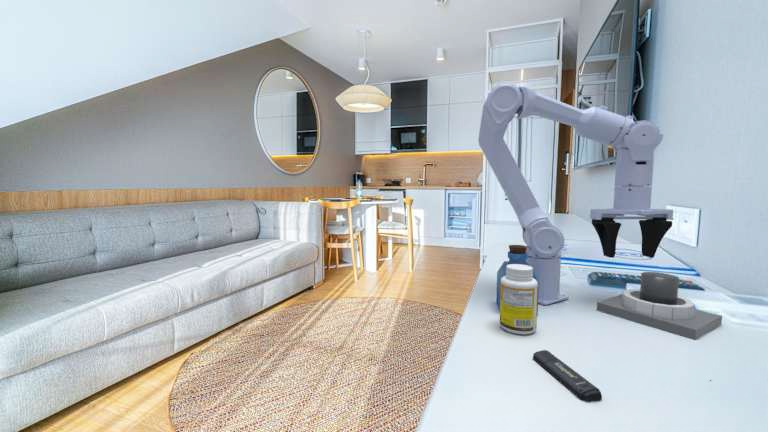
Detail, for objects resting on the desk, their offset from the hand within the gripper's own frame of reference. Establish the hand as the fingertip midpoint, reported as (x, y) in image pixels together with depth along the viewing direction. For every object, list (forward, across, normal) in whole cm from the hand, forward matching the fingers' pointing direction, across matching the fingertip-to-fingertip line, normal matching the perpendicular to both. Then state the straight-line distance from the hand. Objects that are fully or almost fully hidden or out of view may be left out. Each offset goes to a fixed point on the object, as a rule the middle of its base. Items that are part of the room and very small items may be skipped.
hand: (628, 256), depth 64 cm
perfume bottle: (+10, -23, -3) cm, 25 cm away
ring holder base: (+9, 0, -7) cm, 12 cm away
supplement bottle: (+10, -26, -11) cm, 30 cm away
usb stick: (+10, -26, -25) cm, 37 cm away
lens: (+8, 0, -7) cm, 10 cm away
